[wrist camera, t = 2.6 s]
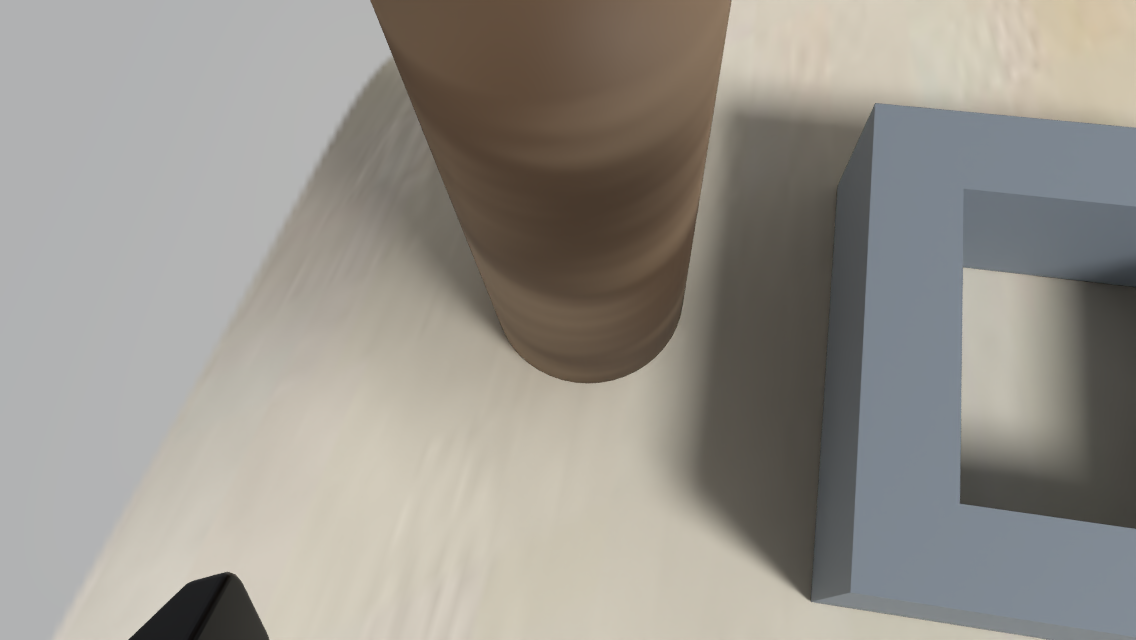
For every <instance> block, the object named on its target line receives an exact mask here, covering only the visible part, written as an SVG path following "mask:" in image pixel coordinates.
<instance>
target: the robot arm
mask: <svg viewBox="0 0 1136 640" xmlns="http://www.w3.org/2000/svg"><path fill="white" fill-rule="evenodd" d="M129 640H269V637H268V635H267V632H266V630H265V628H264V626H263V624H262V622H261V620H260V618H259V616H258V614H257V612H256V610H255V608H254V606H253V604H252V602H251V600H250V598H249V595H248V593H247V591H246V589H245V587H244V585H243V583H242V582H241V580H240V579H239V578H238V577H237V576H236V575H235V574H233V573H230V572H224V573H220V574H217V575H213V576H209V577H206V578H202V579H198V580H194V581H192V582H190V583H188V584H186V585H185V586H184V587H183V588H182V589H181V590H180V591H179V592H178V593H177V594H176V595H175V596H174V597H172V598H171V599H170V600H169V601H168V602H167V603H166V604H165V605H164V606H163V607H162V608H161V609H160V610H159V611H158V612H157V613H156V614H155V615H154V616H153V617H152V618H151V619H150V620H149V621H147V622H146V623H145V624H144V625H143V626H142V627H141V628H140V629H139V630H138V631H137V632H136V633H135V634H134V635H133V636H132V637H131V638H130V639H129Z"/></svg>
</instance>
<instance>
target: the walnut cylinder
mask: <svg viewBox="0 0 1136 640" xmlns="http://www.w3.org/2000/svg"><path fill="white" fill-rule="evenodd" d="M371 3H372V5H373V8H374V10H375V13H376V15H377V18H378V20H379V23H380V25H381V28H382V30H383V33H384V35H385V38H386V40H387V43H388V45H389V48H390V50H391V53H392V55H393V58H394V60H395V63H396V65H397V68H398V70H399V73H400V75H401V78H402V80H403V82H404V85H405V87H406V90H407V92H408V95H409V97H410V100H411V102H412V105H413V107H414V110H415V112H416V115H417V117H418V120H419V122H420V125H421V127H422V130H423V132H424V135H425V137H426V140H427V142H428V145H429V147H430V150H431V152H432V155H433V157H434V160H435V162H436V165H437V167H438V170H439V172H440V174H441V177H442V179H443V182H444V184H445V187H446V189H447V192H448V194H449V197H450V199H451V202H452V204H453V207H454V209H455V212H456V214H457V217H458V219H459V222H460V224H461V227H462V229H463V232H464V234H465V237H466V239H467V242H468V244H469V247H470V249H471V252H472V254H473V257H474V259H475V262H476V264H477V266H478V269H479V271H480V274H481V276H482V279H483V281H484V284H485V286H486V289H487V291H488V294H489V296H490V299H491V301H492V304H493V306H494V309H495V311H496V314H497V316H498V319H499V321H500V324H501V326H502V328H503V331H504V333H505V335H506V337H507V339H508V340H509V342H510V343H511V345H512V346H513V348H514V349H515V350H516V351H517V352H518V353H519V355H520V356H521V357H522V358H524V359H525V360H526V361H527V362H528V363H529V364H531V365H532V366H534V367H535V368H537V369H538V370H540V371H542V372H544V373H546V374H548V375H550V376H552V377H555V378H558V379H561V380H565V381H570V382H576V383H601V382H606V381H611V380H615V379H618V378H621V377H624V376H627V375H629V374H631V373H633V372H635V371H637V370H639V369H640V368H642V367H643V366H645V365H646V364H648V363H649V362H650V361H651V360H653V359H654V358H655V357H656V356H657V355H658V354H659V353H660V352H661V351H662V350H663V348H664V347H665V346H666V344H667V343H668V342H669V340H670V339H671V337H672V335H673V333H674V331H675V329H676V327H677V324H678V322H679V319H680V316H681V310H682V305H683V299H684V293H685V287H686V280H687V274H688V268H689V262H690V255H691V249H692V243H693V237H694V231H695V224H696V218H697V212H698V206H699V199H700V193H701V187H702V181H703V174H704V168H705V162H706V156H707V150H708V143H709V137H710V131H711V125H712V118H713V112H714V106H715V100H716V93H717V87H718V81H719V75H720V69H721V62H722V56H723V50H724V44H725V37H726V31H727V25H728V19H729V12H730V6H731V0H371Z"/></svg>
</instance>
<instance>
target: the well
mask: <svg viewBox="0 0 1136 640" xmlns="http://www.w3.org/2000/svg"><path fill="white" fill-rule="evenodd" d="M963 267H966V268H974V269H983V270H992V271H1001V272H1010V273H1018V274H1027V275H1036V276H1045V277H1053V278H1062V279H1071V280H1080V281H1089V282H1097V283H1106V284H1115V285H1124V286H1132V287H1136V128H1132V127H1122V126H1111V125H1101V124H1090V123H1079V122H1069V121H1058V120H1048V119H1037V118H1027V117H1016V116H1005V115H995V114H984V113H974V112H963V111H953V110H942V109H931V108H921V107H910V106H900V105H889V104H879V103H875V105H874V107H873V109H872V111H871V114H870V116H869V118H868V120H867V122H866V125H865V127H864V129H863V131H862V133H861V136H860V138H859V140H858V142H857V144H856V147H855V149H854V151H853V153H852V156H851V158H850V160H849V162H848V164H847V167H846V169H845V171H844V173H843V175H842V178H841V180H840V182H839V184H838V188H837V203H836V219H835V234H834V250H833V265H832V281H831V296H830V312H829V327H828V343H827V358H826V374H825V389H824V405H823V420H822V436H821V451H820V467H819V482H818V498H817V514H816V529H815V545H814V560H813V576H812V591H811V602H815V603H821V604H828V605H834V606H840V607H847V608H853V609H859V610H866V611H872V612H878V613H885V614H891V615H897V616H903V617H910V618H916V619H922V620H929V621H935V622H941V623H948V624H954V625H960V626H967V627H973V628H979V629H986V630H992V631H998V632H1005V633H1011V634H1017V635H1023V636H1030V637H1036V638H1042V639H1049V640H1136V529H1133V528H1126V527H1119V526H1112V525H1105V524H1098V523H1091V522H1084V521H1077V520H1070V519H1063V518H1056V517H1049V516H1042V515H1035V514H1028V513H1021V512H1014V511H1008V510H1001V509H994V508H987V507H980V506H973V505H966V504H960V454H961V370H962V285H963Z"/></svg>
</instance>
